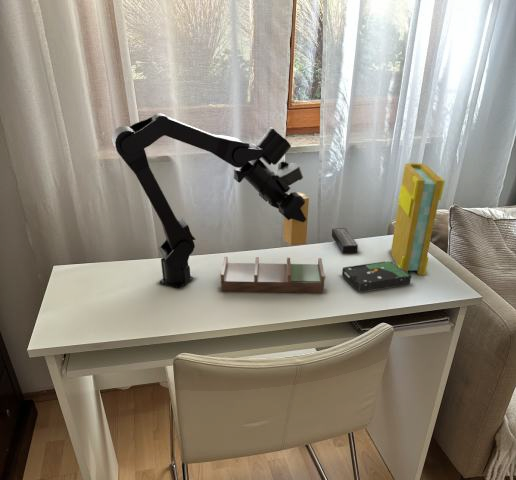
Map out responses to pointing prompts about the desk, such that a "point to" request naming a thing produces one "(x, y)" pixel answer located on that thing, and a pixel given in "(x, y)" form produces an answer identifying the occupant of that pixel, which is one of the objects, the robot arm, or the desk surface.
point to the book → (416, 217)
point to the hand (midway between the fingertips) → (300, 217)
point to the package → (296, 226)
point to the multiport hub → (344, 240)
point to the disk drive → (375, 276)
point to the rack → (272, 277)
